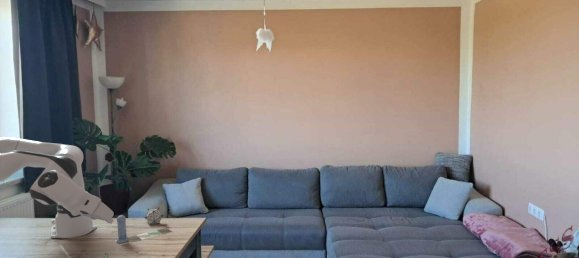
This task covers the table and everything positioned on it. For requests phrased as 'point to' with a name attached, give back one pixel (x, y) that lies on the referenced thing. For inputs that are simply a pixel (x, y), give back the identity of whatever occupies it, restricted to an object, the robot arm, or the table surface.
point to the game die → (153, 216)
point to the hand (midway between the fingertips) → (103, 219)
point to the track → (146, 235)
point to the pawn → (121, 230)
